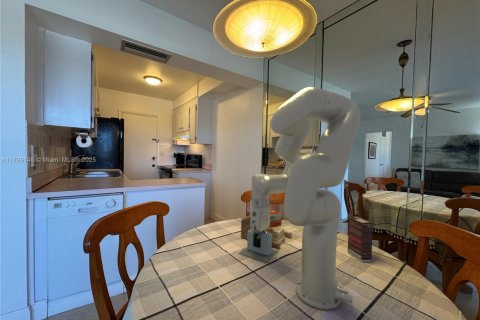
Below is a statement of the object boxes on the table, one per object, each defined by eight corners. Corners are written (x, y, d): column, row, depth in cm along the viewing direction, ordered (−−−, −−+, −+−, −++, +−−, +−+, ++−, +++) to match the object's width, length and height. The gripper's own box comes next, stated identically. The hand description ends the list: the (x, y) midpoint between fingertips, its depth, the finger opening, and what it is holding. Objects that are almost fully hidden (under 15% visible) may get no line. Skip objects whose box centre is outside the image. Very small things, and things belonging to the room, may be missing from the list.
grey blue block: (271, 252, 84) (271, 233, 84) (267, 255, 81) (268, 236, 81) (251, 246, 90) (251, 228, 90) (247, 249, 87) (247, 231, 87)
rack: (291, 238, 102) (292, 218, 102) (279, 249, 89) (279, 227, 88) (256, 229, 114) (257, 211, 114) (240, 238, 100) (241, 218, 100)
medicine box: (273, 222, 128) (273, 209, 128) (281, 226, 121) (281, 213, 121) (253, 225, 121) (253, 212, 120) (261, 229, 113) (261, 216, 113)
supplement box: (372, 261, 80) (373, 222, 80) (361, 262, 79) (362, 222, 79) (356, 251, 88) (357, 216, 88) (346, 252, 87) (347, 216, 87)
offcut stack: (285, 240, 100) (285, 228, 100) (278, 245, 93) (279, 232, 93) (277, 238, 102) (277, 226, 102) (271, 243, 95) (271, 231, 95)
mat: (278, 251, 87) (278, 250, 87) (266, 263, 77) (266, 262, 77) (252, 243, 94) (253, 243, 94) (238, 253, 84) (238, 252, 84)
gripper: (258, 207, 76) (257, 255, 76) (276, 200, 90) (275, 240, 90) (242, 204, 80) (241, 249, 80) (261, 198, 94) (260, 236, 94)
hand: (259, 244), depth 85 cm, fingers open, 3 cm apart
